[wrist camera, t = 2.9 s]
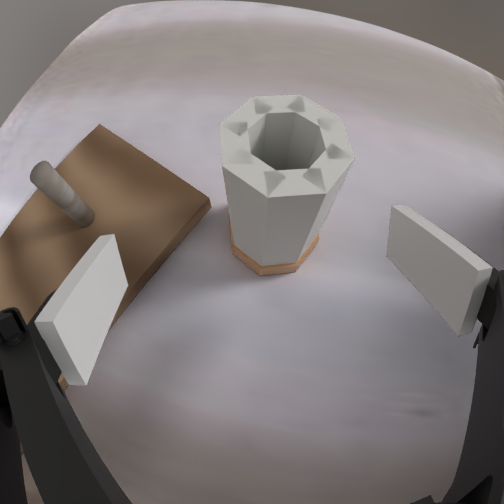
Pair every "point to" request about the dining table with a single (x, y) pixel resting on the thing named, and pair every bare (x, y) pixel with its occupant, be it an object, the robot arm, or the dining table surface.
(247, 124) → the sleeve
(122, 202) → the pin board
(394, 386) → the dining table surface
